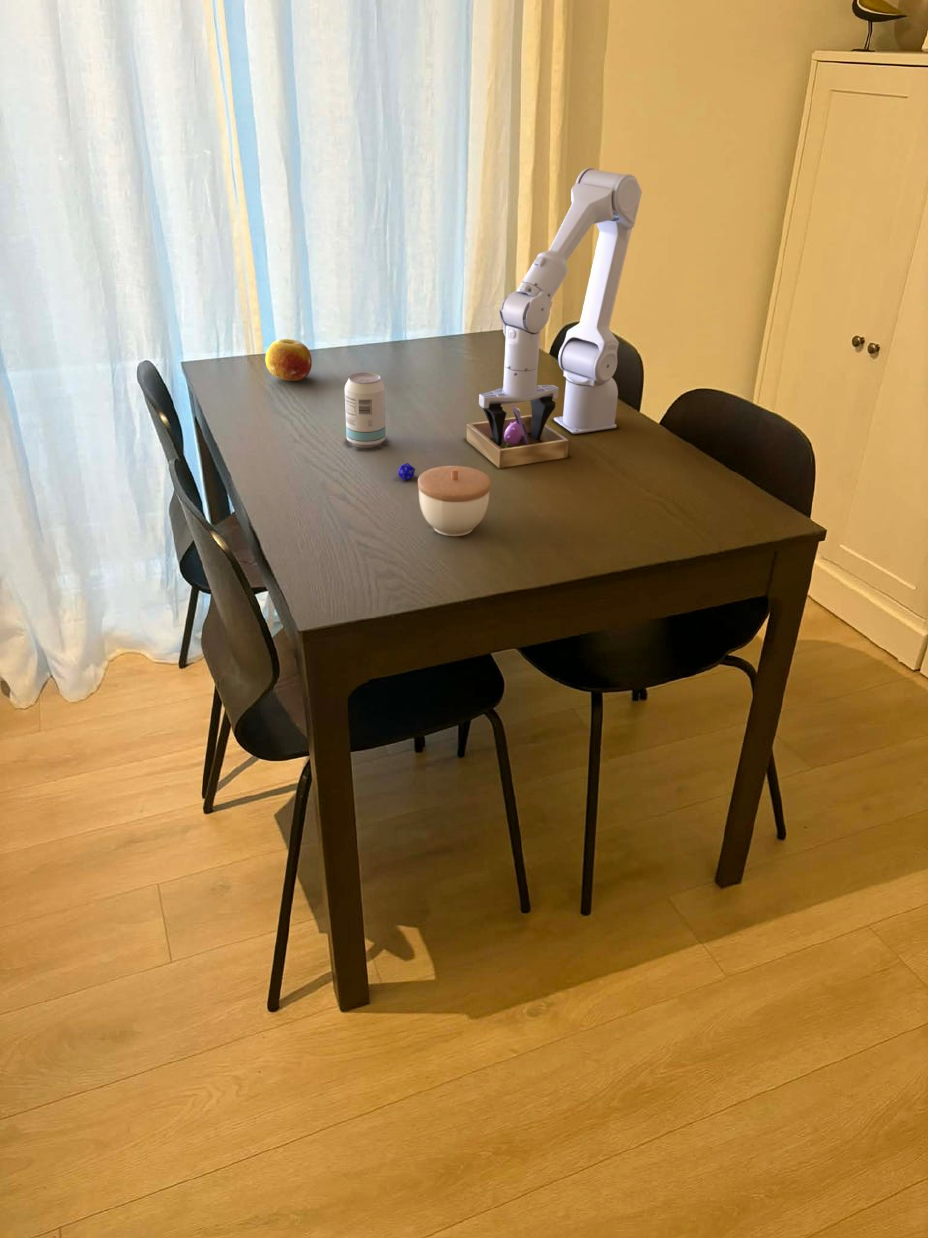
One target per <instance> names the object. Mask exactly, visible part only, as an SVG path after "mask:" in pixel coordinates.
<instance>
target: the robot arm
mask: <svg viewBox="0 0 928 1238" xmlns="http://www.w3.org/2000/svg"><path fill="white" fill-rule="evenodd" d="M642 191H643V190H642V189H641V186H640V183H639V182H638V179H637V177H636V176H635V175H633V174H631V173H630V174H628V173H626V174H625V173H624V174H623V173H617V172H611V171H605V170H599V169H595V168H593V167H586V168H584V169H583V170H581V172H580V173H579V174H578V176H577V178H576V180H575V183H574V185H572V188H571V191H570V198H571V205H570V207H569V209H568V211H567V213H566V214H565V216H564V219H563V221H562V223H561V225H560V227H559V228H558V231H557V233H556V234H555V236H554V239H553V241H552V243H551V245H550V247H549V249H548V250H546V251H542V252H539V253H538V254H537V256H536V258H535V259H534V261H533V262H532V264H531V266H530V267H529V269H528V271H527V273H526V274H525V275H524V278H523V279H522V281H521V283H520V284H519V286H518V287H517V289H516V291H513V292H512V293H509V294H508V295H507V296H506V297H505V298H504V299H503V301H502V303H501V306H500V309H499V310H498V317H499V320H500V322H501V324H502V327H503V329H502V334H503V335H504V337H505V343H504V345H505V346H504V363H503V382H502V383H503V385H502V388H498V389H494V390H491V391H488V392H484V393H479V395H478V405H479V406H480V407H481V409H482V410H483V413H484V415H485V417H486V419H487V421H488V422H489V425H490V428H491V432H492V438H491V439H492V441H493V442H494V443H495V444H496V445H498V446H499V447H502V445H503V440H504V437H503V426H504V421H505V418H506V417H507V414H508V413H507V412H506V411H505V410H504V409H503V408H504V407H503V406H502V405H510V404H515V403H516V404H517V403H524V402H530V409H531V415H532V423H531V433H530V436H531V438H532V439H534V440H535V441H541V440H540V437H541V434H542V431H543V428H544V426H545V424H547V421H548V419H549V418H550V416H551V414H552V413H553V412H554V410H555V409H556V401H554V400H557V399H559V391H560V389H559V387H558V386H556V385H555V384H545V385H544V384H540V385H539V384H538V372H539V371H538V368H539V355H540V340H541V332H542V330H543V329H544V328H545V327H546V325H547V324H548V322H549V319H550V313H551V308H552V306H553V301H552V300H553V298H554V297H555V295H556V293H557V292H558V290H559V288H560V287H561V285H562V283H563V281H564V280H565V278H566V276H567V275H568V264H567V263H568V260H569V259H570V257H571V255H572V254H573V253H574V252H575V250H576V249H577V247H578V246H579V244H580V243H581V242H582V240H583V239H584V237H585V236H586V235H587V233H588V231H589V230H590V228H591V227H592V226H593V225H596V226H597V229H598V231H599V234H598V238H597V242H596V247H595V250H594V251H595V252H594V257H593V261H592V266H591V270H590V275H589V279H588V282H587V283H588V284H587V288H586V293H585V298H584V302H583V306H582V309H581V310H582V312H581V316H580V319H579V323H577V324H576V325H574V326H572V327H571V328H568V330H567V331H566V335H565V338H564V341H563V343H562V345H561V346H560V349H559V350H558V351H559V352H558V357H557V358H558V359H557V362H558V366H559V369H561V370H562V372H563V375H562V377H564V378H565V390H564V401H563V412H562V416H556V417H553V421H554V422H555V423H557V424H559V425H560V426H561V427H563V428H564V429H566V430H567V431H568V432H570V433H571V434H575V435H576V434H577V435H578V434H584V433H591V432H597V431H605V430H611V429H616V428H617V427H618V426H617V424H616V416H617V415H616V414H617V407H618V398H619V390H618V384H617V382H616V381H615V379H614V378H613V376H614V375H615V373H616V370H617V368H618V349H619V345H620V342H619V340H618V339H617V338H616V337H615V335H614V334H613V332H612V331H611V329H610V325H611V321H612V317H613V312H614V307H615V304H616V299H617V295H618V291H619V287H620V281H621V278H622V274H623V269H624V264H625V260H626V256H627V252H628V247H629V243H630V240H631V235H632V232H633V231H632V230H633V228H634V227H635V224H636V219H637V215H638V211H639V206H640V202H641V199H642V193H643V192H642ZM537 384H538V385H537Z"/></svg>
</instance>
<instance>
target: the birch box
mask: <svg viewBox="0 0 928 1238" xmlns="http://www.w3.org/2000/svg"><path fill="white" fill-rule="evenodd" d="M520 416H521V419H522V421H523V422H524V425H525V428H526V431H527V434H531V423H532V414H528V415H527V414H526V415H520ZM518 420H519V419H518ZM513 422H516V418H515V416H513V417H507V418H506V417H505V421H504V426H503V438H504V433H505V431H506V429H507V428H508V426H509V425H510V424H511V423H513ZM519 423H520V422H519ZM492 439H493V438H492V432H491V428H490V425H489V422H488V420H486V421H478V422H477V421H476V422H470V423H467V424H466V442H468V443H469V444H470V445H471V446H472V447H473V448H474V449H476V450H477V451H478V452H479V453H481V454H482V455H483V456H484V457H485V458H486V459H488V460H489V461H490V462H491V463H492V464H494V465H495V466H496V467H497V469H503V468H510V467H516V466H521V465H528V464H535V463H540V462H546V461H552V460H553V461H554V460H559V459H560V460H561V459H566V458H568V454H569V442H570V440H569V439H568V438H566V436H564V435H562V434H561V433H559V432H558V431H556V430H555V429H553V428H552V427H551V426H550V425H548V424H547V423H546V424H545V426H544V428H543V431H542V434H541V437H540V440H539V441H540V442H538V443H532V444H531V443H530V444H531V445H525V444H524V445H519V446H518V445H517V446H510V447H508V448H505V447H504V448H505V449H504V448H502V447H501V446H498V445H496V444H495V443H494V442H493V440H492Z"/></svg>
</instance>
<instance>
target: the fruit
mask: <svg viewBox="0 0 928 1238" xmlns="http://www.w3.org/2000/svg"><path fill="white" fill-rule="evenodd" d="M264 360H265V365H266V369H267V370H268V371H269V373H270V374H271V375H272V376H273V377H274V378H277V379H280V380H283V381H289V382H298V381H301V380H303V379H305V378H307V377H308V375H310V372H311V371H312V367H313V365H312V361H313V360H312V354H311V352H310V350H309V348H308V347H307V346H306V345H305V343H302V342H300V341H298V340H295V339H289V338H282V339H277V340H274V341H273V342H272V343H271V344H270V345H269V346H268V347H267V350H266V353H265V359H264Z"/></svg>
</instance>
